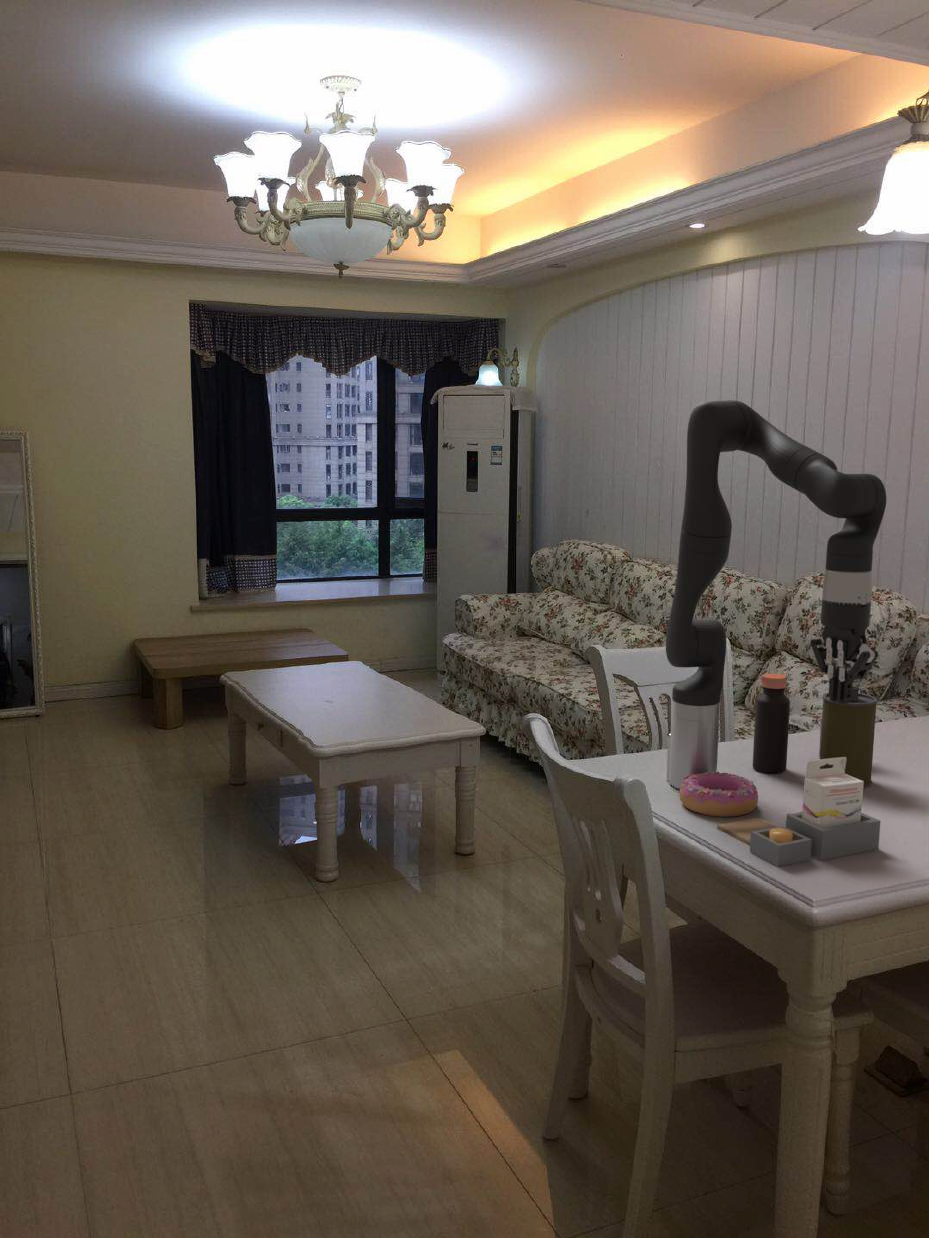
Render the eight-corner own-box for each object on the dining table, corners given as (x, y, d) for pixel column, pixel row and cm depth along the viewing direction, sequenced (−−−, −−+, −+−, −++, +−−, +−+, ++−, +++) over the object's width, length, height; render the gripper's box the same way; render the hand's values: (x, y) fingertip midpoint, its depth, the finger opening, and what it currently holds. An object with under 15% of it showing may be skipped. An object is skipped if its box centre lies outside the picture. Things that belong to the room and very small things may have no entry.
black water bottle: (793, 770, 216) (798, 677, 213) (771, 776, 212) (776, 681, 209) (766, 762, 221) (771, 671, 218) (745, 767, 218) (750, 675, 214)
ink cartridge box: (818, 854, 171) (824, 768, 169) (799, 843, 176) (804, 760, 173) (860, 847, 174) (866, 763, 172) (840, 837, 179) (845, 755, 176)
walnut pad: (717, 827, 183) (717, 824, 183) (757, 820, 186) (757, 817, 186) (750, 845, 175) (750, 842, 175) (792, 837, 178) (792, 834, 178)
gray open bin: (784, 842, 176) (786, 814, 175) (841, 832, 181) (842, 804, 180) (820, 860, 168) (822, 831, 168) (878, 849, 174) (880, 820, 173)
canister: (872, 791, 203) (879, 692, 200) (816, 785, 206) (822, 687, 203) (871, 775, 213) (878, 680, 210) (818, 770, 216) (823, 676, 213)
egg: (763, 850, 171) (765, 830, 171) (781, 847, 173) (782, 826, 172) (778, 858, 168) (780, 837, 167) (796, 854, 169) (797, 834, 169)
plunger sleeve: (749, 851, 172) (750, 831, 172) (781, 845, 175) (783, 825, 174) (777, 866, 166) (778, 845, 165) (810, 859, 169) (811, 839, 168)
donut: (770, 818, 189) (771, 791, 188) (695, 822, 186) (696, 795, 186) (738, 792, 203) (739, 767, 202) (668, 795, 200) (669, 770, 200)
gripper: (799, 593, 173) (793, 695, 175) (860, 604, 160) (852, 713, 163) (834, 591, 176) (827, 691, 178) (896, 602, 163) (888, 709, 166)
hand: (839, 701), depth 171 cm, fingers closed
